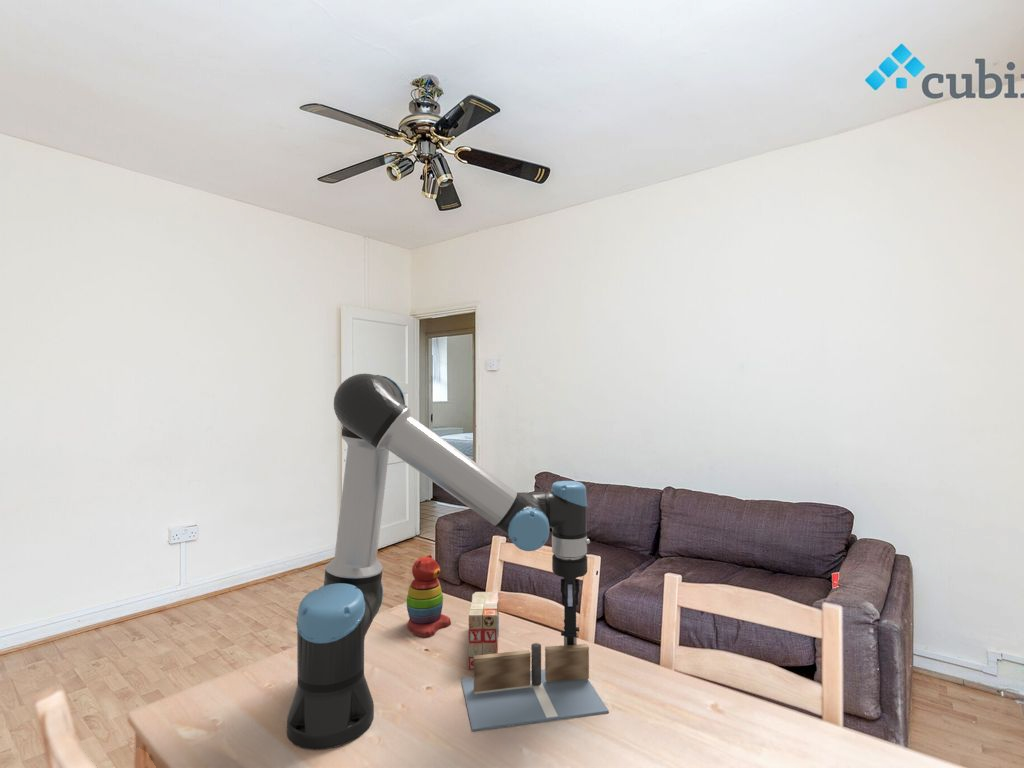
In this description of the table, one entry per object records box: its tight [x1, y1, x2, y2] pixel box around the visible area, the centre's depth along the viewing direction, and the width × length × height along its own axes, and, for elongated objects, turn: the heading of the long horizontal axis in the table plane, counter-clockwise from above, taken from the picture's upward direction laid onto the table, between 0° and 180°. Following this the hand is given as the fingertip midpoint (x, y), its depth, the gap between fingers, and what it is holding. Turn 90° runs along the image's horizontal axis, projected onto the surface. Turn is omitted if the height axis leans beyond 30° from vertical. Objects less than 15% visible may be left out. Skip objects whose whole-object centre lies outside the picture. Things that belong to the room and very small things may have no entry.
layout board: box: [460, 668, 610, 732], centre depth 106 cm, size 26×17×1 cm, turn 102°
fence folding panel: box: [544, 643, 590, 682], centre depth 110 cm, size 9×1×7 cm, turn 97°
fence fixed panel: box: [473, 642, 542, 692], centre depth 108 cm, size 14×2×8 cm, turn 102°
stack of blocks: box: [468, 591, 500, 671], centre depth 126 cm, size 21×6×12 cm, turn 0°
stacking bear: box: [406, 554, 452, 638], centre depth 138 cm, size 11×10×18 cm
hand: (570, 663), depth 114 cm, fingers closed
